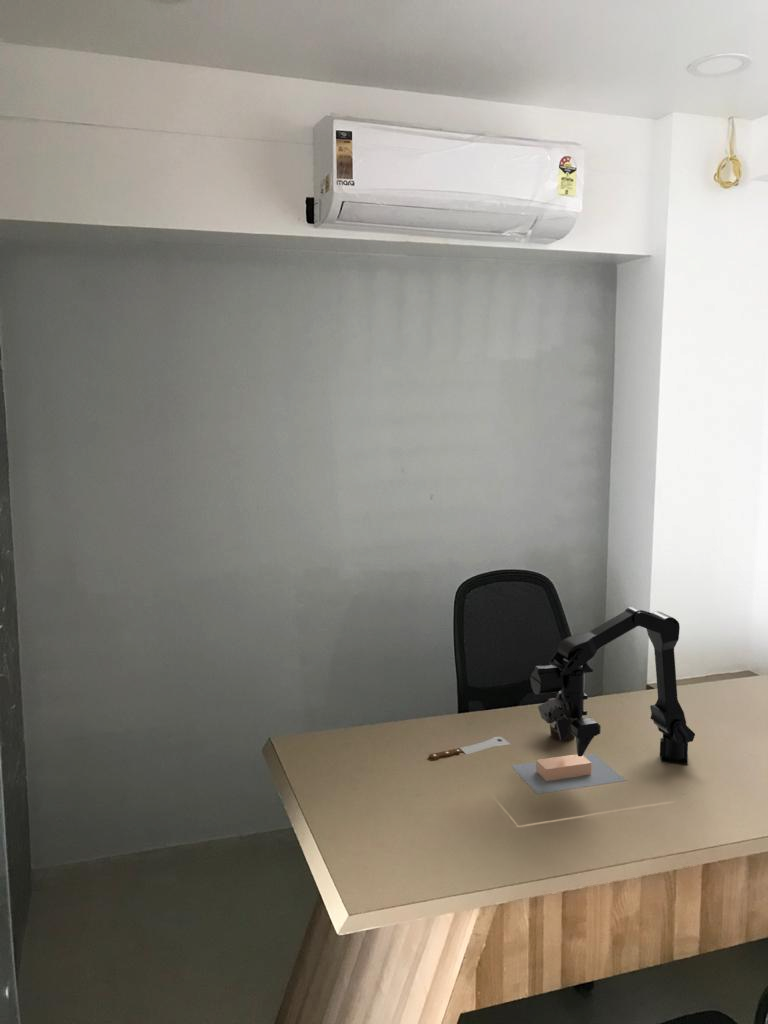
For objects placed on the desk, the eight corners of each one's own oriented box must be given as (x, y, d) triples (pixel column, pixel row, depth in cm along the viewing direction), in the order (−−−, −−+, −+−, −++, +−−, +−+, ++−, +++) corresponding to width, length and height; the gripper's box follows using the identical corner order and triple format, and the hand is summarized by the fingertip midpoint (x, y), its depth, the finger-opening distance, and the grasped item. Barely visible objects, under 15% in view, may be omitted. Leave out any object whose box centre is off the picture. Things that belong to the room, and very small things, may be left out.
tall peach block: (580, 753, 224) (536, 759, 221) (591, 762, 219) (545, 769, 215) (580, 765, 224) (536, 771, 221) (591, 774, 219) (545, 781, 216)
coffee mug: (581, 744, 238) (582, 709, 236) (549, 744, 238) (550, 709, 236) (573, 727, 249) (574, 693, 248) (542, 727, 249) (543, 693, 248)
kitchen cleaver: (442, 768, 224) (424, 751, 233) (441, 771, 224) (424, 754, 233) (521, 750, 234) (501, 735, 243) (521, 754, 234) (501, 738, 243)
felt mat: (594, 754, 231) (594, 753, 231) (626, 781, 216) (626, 780, 216) (510, 766, 225) (510, 765, 225) (537, 795, 210) (537, 793, 210)
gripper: (527, 680, 224) (526, 737, 226) (560, 706, 206) (559, 768, 209) (566, 675, 227) (565, 732, 229) (602, 701, 209) (600, 762, 212)
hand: (571, 748), depth 220 cm, fingers open, 9 cm apart
